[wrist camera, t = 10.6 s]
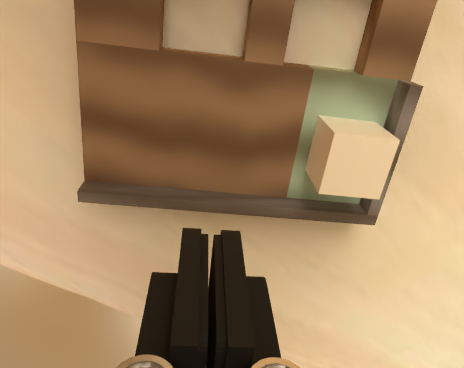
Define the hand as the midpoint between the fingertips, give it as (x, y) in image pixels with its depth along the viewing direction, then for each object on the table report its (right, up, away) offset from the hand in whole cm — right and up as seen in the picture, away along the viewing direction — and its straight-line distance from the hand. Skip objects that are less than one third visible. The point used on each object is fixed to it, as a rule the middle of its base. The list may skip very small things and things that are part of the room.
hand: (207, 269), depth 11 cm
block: (+10, +6, +21) cm, 24 cm away
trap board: (+2, +11, +20) cm, 23 cm away
